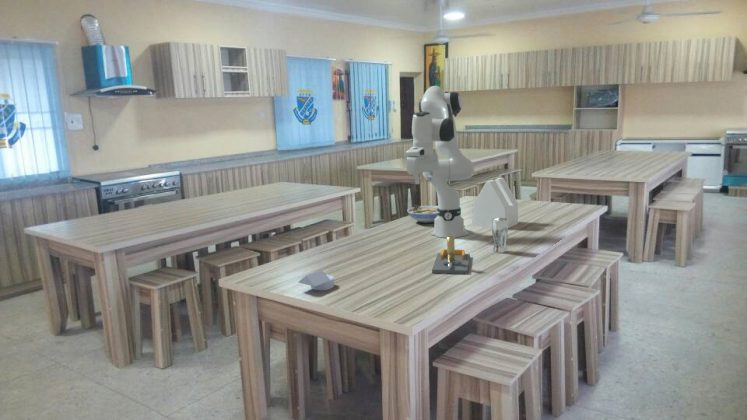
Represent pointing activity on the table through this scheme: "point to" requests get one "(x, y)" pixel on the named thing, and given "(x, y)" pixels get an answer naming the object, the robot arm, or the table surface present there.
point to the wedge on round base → (318, 280)
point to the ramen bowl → (423, 213)
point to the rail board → (455, 269)
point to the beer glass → (499, 234)
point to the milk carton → (495, 204)
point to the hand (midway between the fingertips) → (423, 182)
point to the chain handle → (450, 253)
